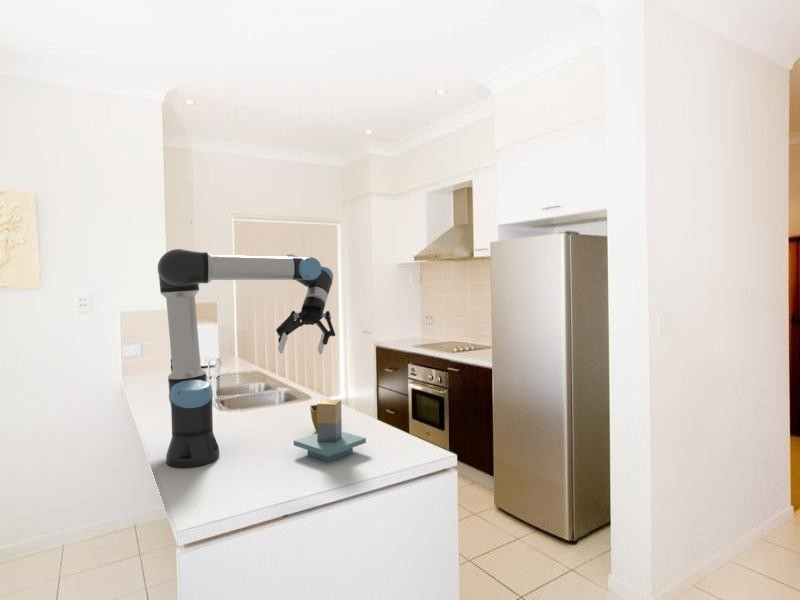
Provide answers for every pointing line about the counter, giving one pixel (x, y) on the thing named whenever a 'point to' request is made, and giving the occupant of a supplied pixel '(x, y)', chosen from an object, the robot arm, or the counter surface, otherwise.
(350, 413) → the counter surface
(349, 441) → the teal stand
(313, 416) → the flower pot
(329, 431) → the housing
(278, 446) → the counter surface
